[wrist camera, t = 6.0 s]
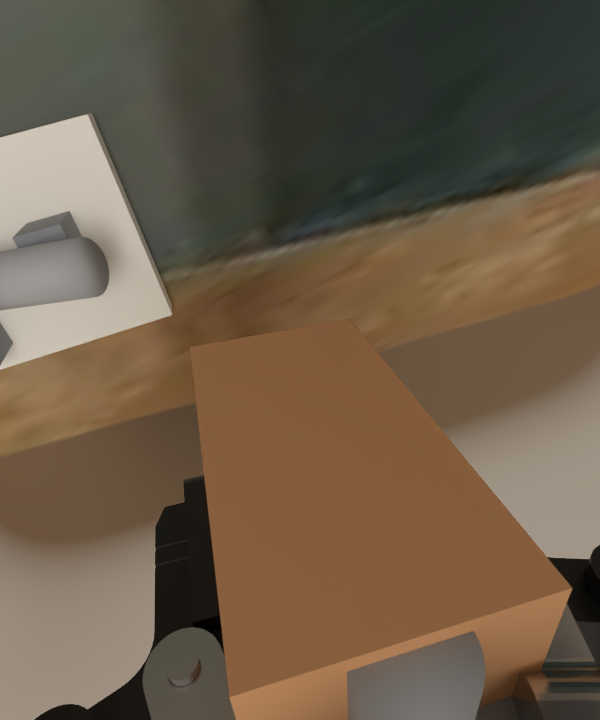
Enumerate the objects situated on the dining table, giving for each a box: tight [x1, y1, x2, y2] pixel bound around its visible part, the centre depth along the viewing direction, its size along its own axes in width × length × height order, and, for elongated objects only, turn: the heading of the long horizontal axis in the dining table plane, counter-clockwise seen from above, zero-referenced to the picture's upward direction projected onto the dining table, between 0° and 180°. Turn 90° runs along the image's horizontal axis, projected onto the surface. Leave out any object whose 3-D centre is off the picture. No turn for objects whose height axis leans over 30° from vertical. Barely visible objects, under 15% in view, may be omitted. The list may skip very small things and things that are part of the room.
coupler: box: [190, 319, 572, 720], centre depth 10 cm, size 6×4×9 cm, turn 3°
